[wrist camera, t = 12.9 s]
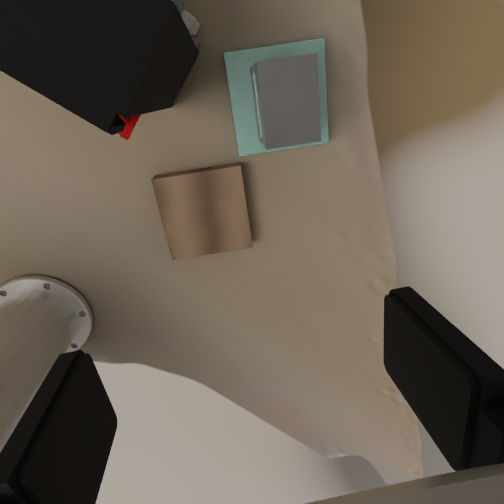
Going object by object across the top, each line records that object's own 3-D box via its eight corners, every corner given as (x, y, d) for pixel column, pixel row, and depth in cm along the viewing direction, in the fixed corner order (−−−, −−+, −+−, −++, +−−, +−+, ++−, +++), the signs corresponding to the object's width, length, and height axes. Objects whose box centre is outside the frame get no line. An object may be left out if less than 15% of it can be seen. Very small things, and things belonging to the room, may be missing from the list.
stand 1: (174, 253, 44) (172, 259, 42) (154, 175, 40) (151, 179, 38) (251, 240, 44) (252, 246, 42) (239, 162, 40) (240, 165, 38)
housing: (249, 68, 34) (256, 61, 28) (299, 60, 34) (317, 52, 28) (258, 140, 37) (266, 149, 31) (304, 133, 37) (321, 141, 31)
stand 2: (238, 153, 39) (239, 156, 38) (223, 54, 35) (223, 52, 33) (323, 140, 40) (328, 142, 38) (319, 40, 35) (324, 37, 34)
